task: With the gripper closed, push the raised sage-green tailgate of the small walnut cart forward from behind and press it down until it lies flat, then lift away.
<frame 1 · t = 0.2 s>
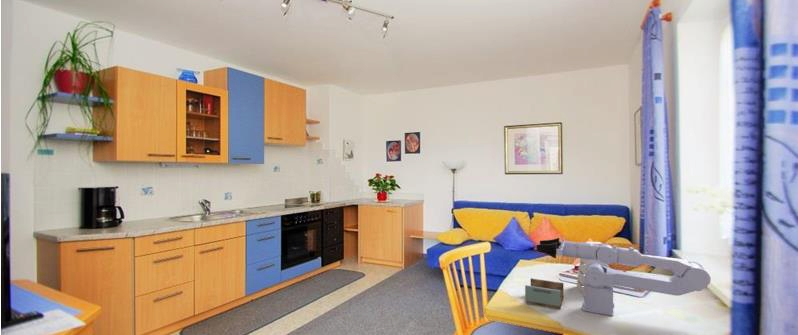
hand: (538, 245, 140), 21 cm above the table, tool horizontal, fingers open, 7 cm apart
tailgate: (542, 295, 133), point 4 cm above the table, hinge at 0.0°
grater: (594, 291, 149), on the table
cart bed: (545, 301, 139), on the table
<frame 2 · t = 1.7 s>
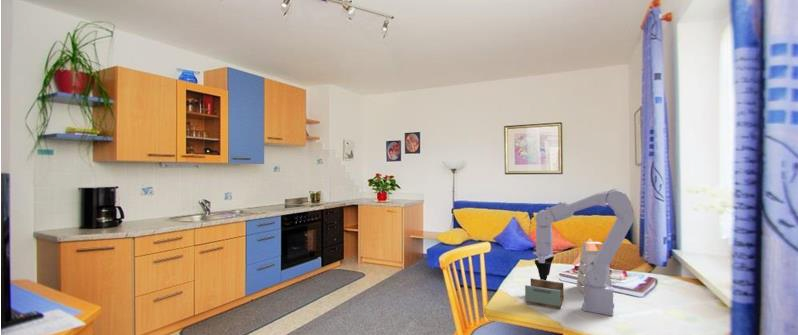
hand: (544, 277, 138), 9 cm above the table, tool pointing down, fingers open, 6 cm apart
nothing on the table moved.
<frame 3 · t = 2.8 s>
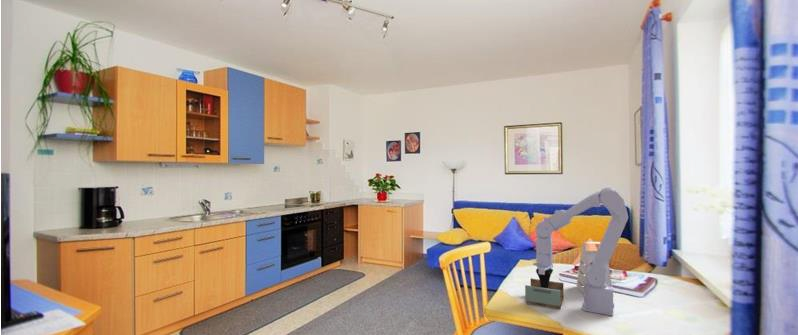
hand: (544, 288, 138), 5 cm above the table, tool pointing down, fingers closed
nothing on the table moved.
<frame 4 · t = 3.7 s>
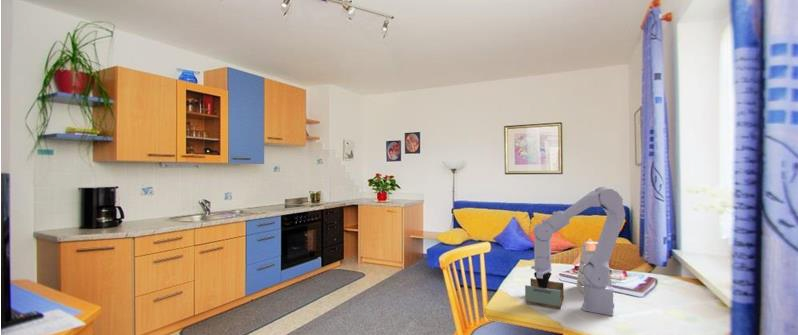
hand: (542, 292, 135), 5 cm above the table, tool pointing down, fingers closed, pressing on tailgate
tailgate: (542, 295, 133), point 4 cm above the table, hinge at 0.0°, touching gripper
everything else where it was.
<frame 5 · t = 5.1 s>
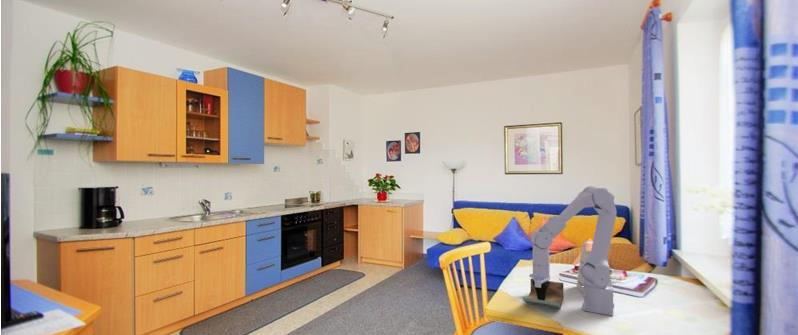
hand: (541, 301, 131), 3 cm above the table, tool pointing down, fingers closed, pressing on tailgate
tailgate: (541, 303, 132), point 2 cm above the table, hinge at 62.0°, touching gripper
everything else where it was.
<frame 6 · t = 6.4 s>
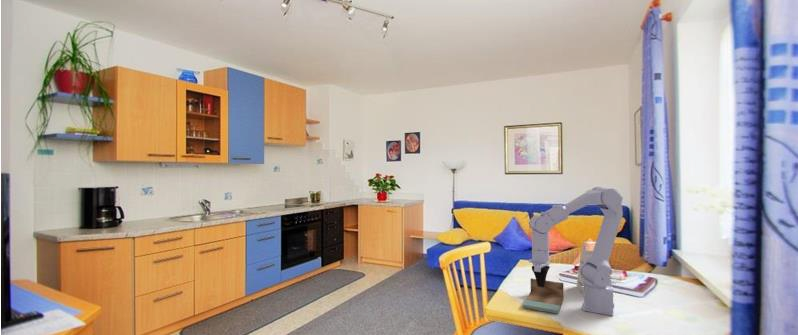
hand: (541, 286, 131), 9 cm above the table, tool pointing down, fingers closed
tailgate: (541, 306, 132), point 1 cm above the table, hinge at 89.1°
everything else where it was.
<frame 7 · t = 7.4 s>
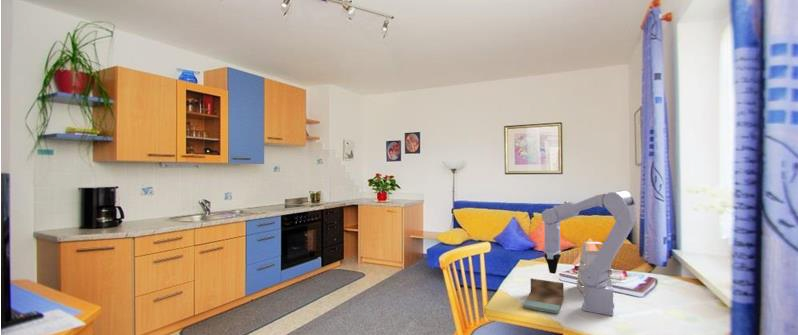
hand: (552, 272, 144), 9 cm above the table, tool pointing down, fingers closed
nothing on the table moved.
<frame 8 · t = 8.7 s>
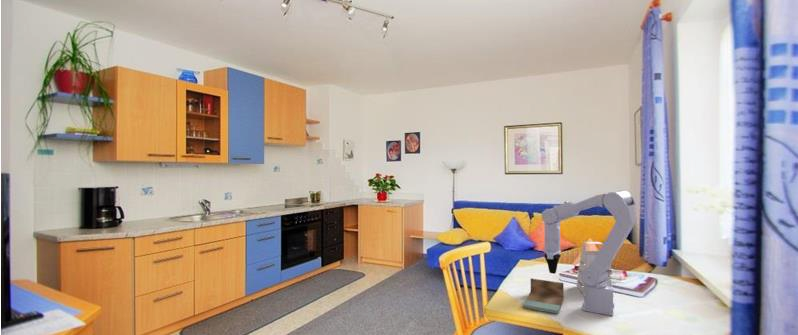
hand: (552, 272, 144), 9 cm above the table, tool pointing down, fingers closed
nothing on the table moved.
at the end: tailgate at +89° (first picture: +0°); the gripper is holding nothing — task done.
